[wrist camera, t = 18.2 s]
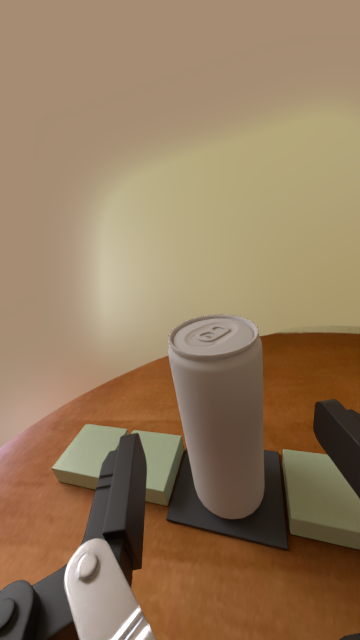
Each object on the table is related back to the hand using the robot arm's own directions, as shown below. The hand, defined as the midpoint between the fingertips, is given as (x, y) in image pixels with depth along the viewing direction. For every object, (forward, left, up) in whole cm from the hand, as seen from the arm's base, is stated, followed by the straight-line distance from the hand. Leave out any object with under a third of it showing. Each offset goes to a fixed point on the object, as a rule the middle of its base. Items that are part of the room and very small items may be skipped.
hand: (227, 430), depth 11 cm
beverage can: (-1, +3, -9) cm, 9 cm away
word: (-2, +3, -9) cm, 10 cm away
